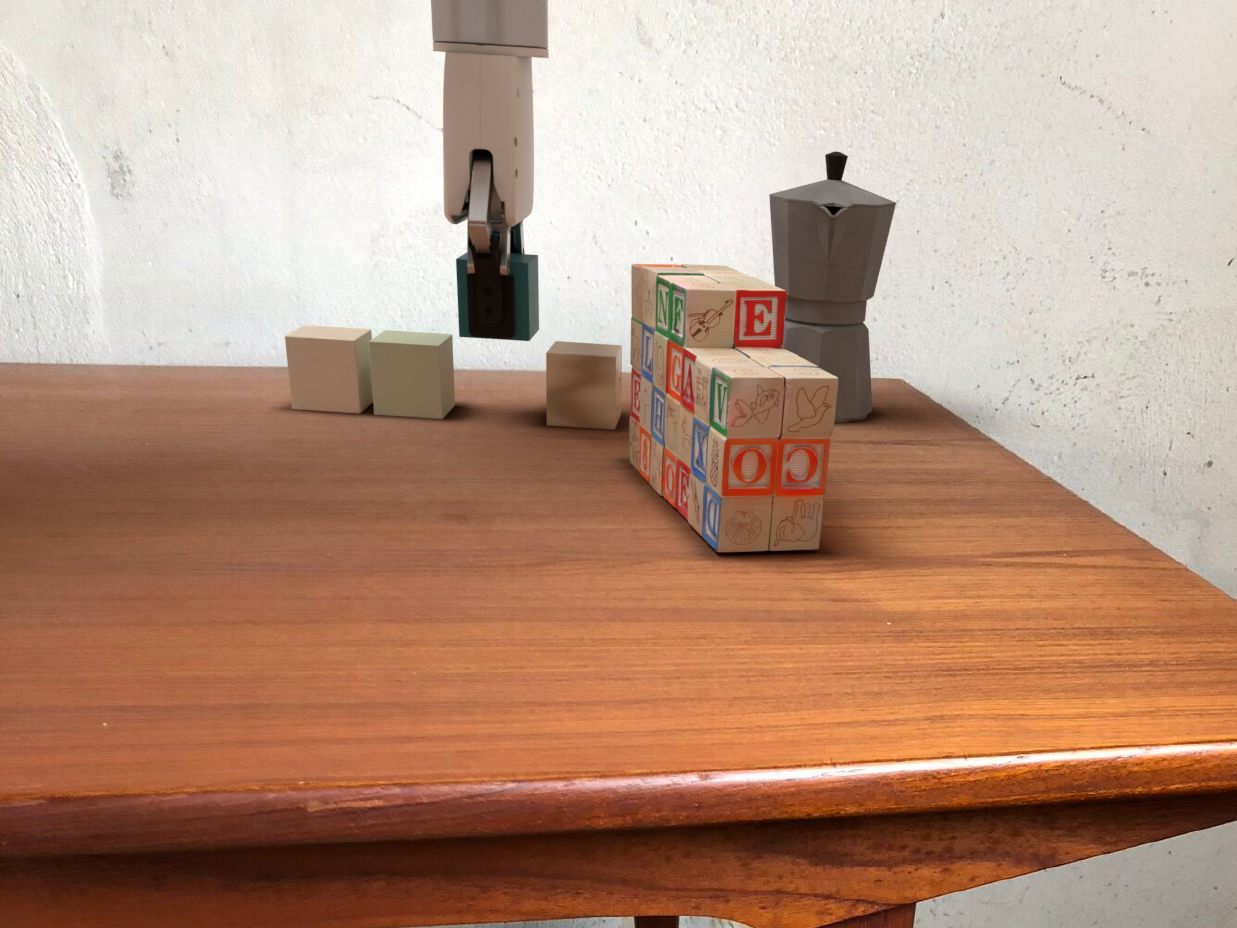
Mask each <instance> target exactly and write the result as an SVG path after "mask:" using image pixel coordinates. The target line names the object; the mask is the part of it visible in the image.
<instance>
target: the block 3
mask: <svg viewBox="0 0 1237 928" xmlns="http://www.w3.org/2000/svg"><path fill="white" fill-rule="evenodd" d="M545 362H546V363H545V364H546V365H545V374H546V375H545V380H546V381H545V385H546V387H545V389H546V390H545V391H546V392H545V393H546V395H545V396H546V426H548V427H561V428H562V427H563V428H578V429H596V430H607V431H608V430H609V431H615V430H616V428H617V425H618V423H619V421H620V418H621V415H622V379H623V378H622V377H623V370H622V369H623V345H622V344H607V343H594V342H593V343H591V342H576V341H560V340H555V341H554V342H553V343H552V345H551V346H550V347H549V349H548V350H547V351H546V353H545Z"/></svg>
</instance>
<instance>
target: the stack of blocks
mask: <svg viewBox="0 0 1237 928" xmlns="http://www.w3.org/2000/svg"><path fill="white" fill-rule="evenodd" d="M630 272H631V274H630V276H631V277H630V278H631V284H630V286H631V289H630V290H631V291H630V293H631V294H630V295H631V317H630V350H629V351H630V353H629V354H630V357H629V359H630V360H629V361H630V362H629V363H630V366H631V373H630V374H631V375H630V377H631V379H630V395H631V396H630V414H631V415H630V416H629V463H630V464H631V465H632V466H633V467H634V469H636V471H637V472H638V474H639V475H640V476H641V477H642V478H643V479H644V480H645V481H646V482H647V483H648V484H649V485H650V487H651V488H653V490H654V491H655V492H656V493H657V494H658V495H659V496H661V497H663V498H664V499H665V500H666V501H667V502H668V503H669V504H670V505H671V506H672V507H673V508H674V509H676V510H677V511H678V512H679V514H680V515H681V516H682V517H684V519H685V520H686V521H687V523H688V525H690V526H691V527H692V529H694V530H695V531H696V532H697V533H698V534H699V535H700V536H701V537H702V538H703V540H704V541H706V543H707V544H708V545H709V546H710V547H711V548H713V550H714V551H715V552H716V553H739V552H740V553H742V552H743V553H747V552H769V551H770V552H779V551H780V552H782V551H784V552H785V551H814V550H819V549H820V541H821V532H822V527H823V526H822V525H823V511H824V501H825V494H826V491H827V482H828V471H829V462H830V461H829V460H830V451H831V450H830V448H831V438H832V437H833V435H834V429H835V423H834V419H835V411H836V400H837V390H838V377H836V376H834V375H832V374H830V373H828V372H826V371H824V370H823V369H821V368H819V367H818V366H816V365H815V364H813V363H811V362H809V361H807V360H805V359H803V358H801V357H799V356H798V355H796V354H794V353H792V352H790V351H788V350H786V349H782V348H783V338H784V321H785V305H786V291H785V290H783V289H781V288H779V287H776V286H775V284H774V285H773V284H771V283H768V282H766V281H764V280H762V279H760V278H758V277H755V276H750V275H747V274H745V273H743V272H740V271H738V269H735V268H732V267H730V266H728V265H717V264H690V263H689V264H687V263H681V264H680V265H679V264H672V263H671V264H669V263H668V264H667V263H664V264H663V263H633V264H631V270H630Z"/></svg>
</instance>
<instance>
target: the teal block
mask: <svg viewBox="0 0 1237 928" xmlns="http://www.w3.org/2000/svg"><path fill="white" fill-rule="evenodd" d="M455 268H456V269H455V270H456V295H457V315H458V316H457V318H458V336H459V338H469V339H487V340H488V339H489V340H500V341H501V340H504V341H518V342H519V341H520V342H530V341H531V340H532V339H533V338H534V336H535V335H536V334H537V333H538V332H539V331H540V295H539V292H540V291H539V288H540V287H539V286H540V285H539V255H538V254H528V253H525V254H514V253H510V272H509V275H514V291H515V335H514V336H513V337H512V338H511V339H504V338H488V337H474V336H472V335H471V334H470V333H469V322H468V297H467V273H468V270H467V252H465V253H464V254H461V255H460V256H459V257H457V258H456V259H455Z"/></svg>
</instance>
